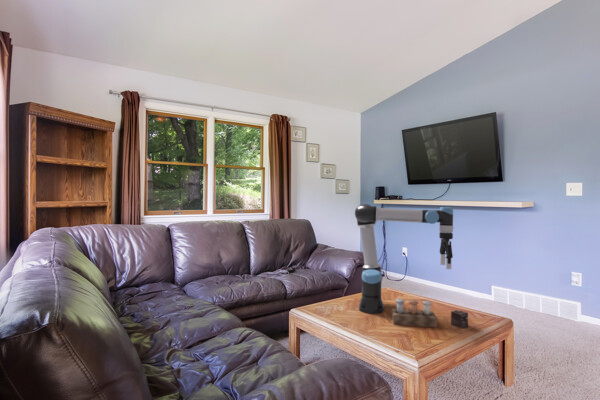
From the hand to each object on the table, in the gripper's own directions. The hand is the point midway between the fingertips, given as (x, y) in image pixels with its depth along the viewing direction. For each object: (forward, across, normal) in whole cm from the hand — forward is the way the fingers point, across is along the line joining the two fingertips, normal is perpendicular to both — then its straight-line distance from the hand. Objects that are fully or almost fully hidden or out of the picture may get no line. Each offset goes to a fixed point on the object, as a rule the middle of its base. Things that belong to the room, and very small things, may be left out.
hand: (445, 266), depth 204 cm
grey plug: (+22, -26, +30) cm, 46 cm away
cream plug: (+22, -26, +16) cm, 38 cm away
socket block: (+26, -26, +23) cm, 44 cm away
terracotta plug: (+22, -26, +23) cm, 41 cm away
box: (+26, -27, 0) cm, 38 cm away
